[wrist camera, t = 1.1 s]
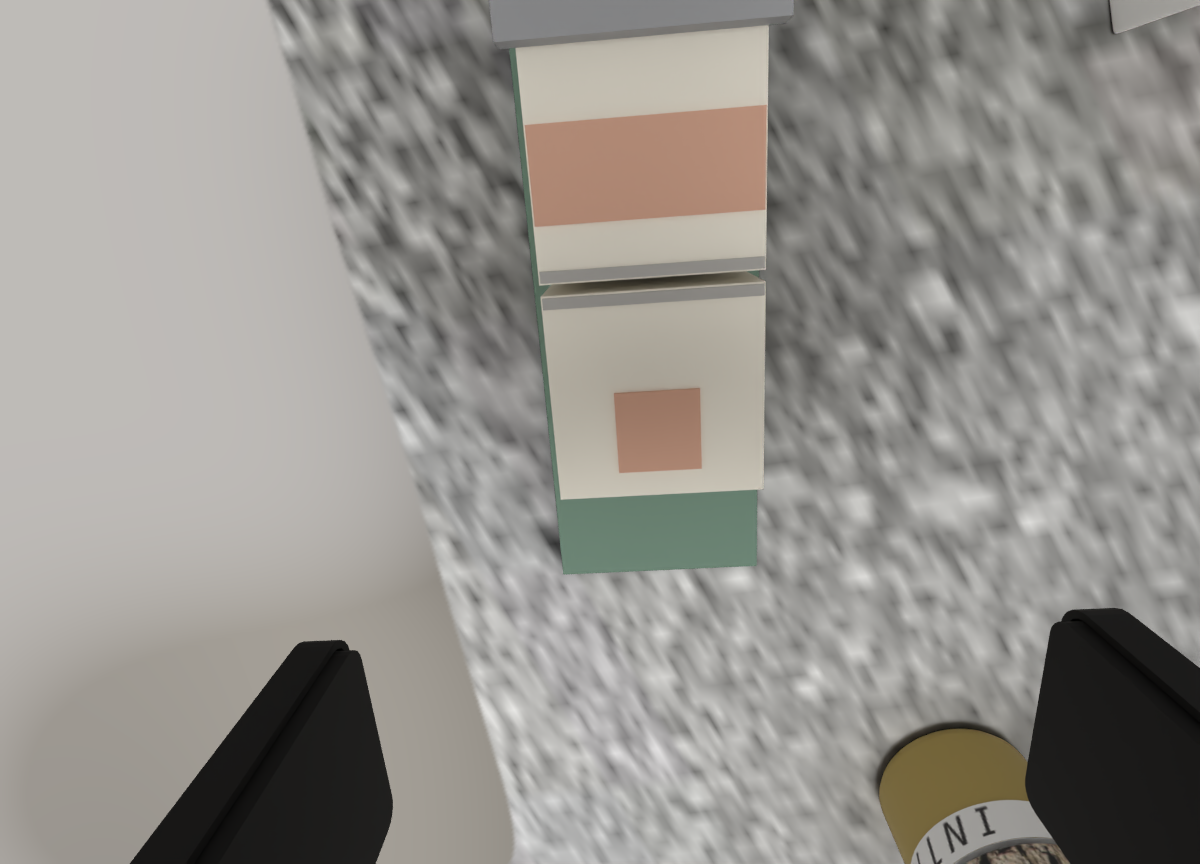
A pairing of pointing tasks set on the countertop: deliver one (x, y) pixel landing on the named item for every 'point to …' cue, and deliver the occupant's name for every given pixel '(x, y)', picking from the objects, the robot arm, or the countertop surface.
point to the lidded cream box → (643, 133)
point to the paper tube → (963, 803)
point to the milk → (1144, 11)
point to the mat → (649, 522)
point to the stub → (657, 384)
